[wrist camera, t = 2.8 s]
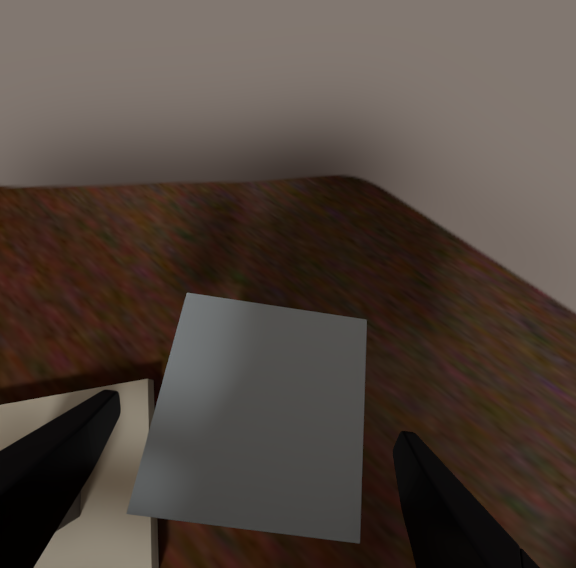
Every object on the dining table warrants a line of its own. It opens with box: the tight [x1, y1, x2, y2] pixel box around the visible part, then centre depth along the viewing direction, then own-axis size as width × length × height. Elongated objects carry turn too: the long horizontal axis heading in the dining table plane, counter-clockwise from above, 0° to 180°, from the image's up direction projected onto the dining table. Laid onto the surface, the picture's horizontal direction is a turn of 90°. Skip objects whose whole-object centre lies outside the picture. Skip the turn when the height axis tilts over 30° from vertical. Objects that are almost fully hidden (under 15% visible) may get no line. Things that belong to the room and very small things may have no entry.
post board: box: [0, 379, 159, 568], centre depth 13 cm, size 9×9×4 cm
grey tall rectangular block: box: [126, 293, 367, 543], centre depth 13 cm, size 6×6×10 cm
